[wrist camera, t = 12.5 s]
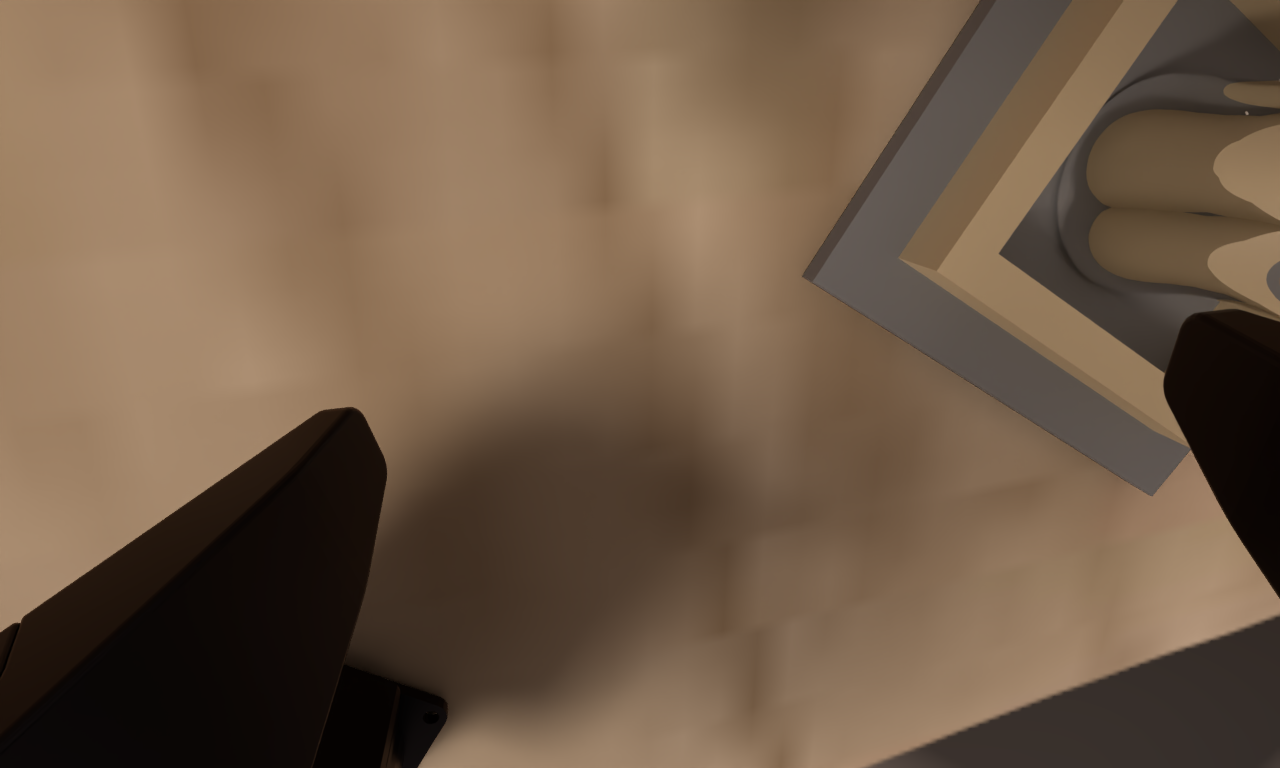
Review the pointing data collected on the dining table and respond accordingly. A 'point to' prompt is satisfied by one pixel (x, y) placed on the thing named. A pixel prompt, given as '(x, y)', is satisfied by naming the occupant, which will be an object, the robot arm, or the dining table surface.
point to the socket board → (1034, 217)
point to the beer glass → (1180, 191)
